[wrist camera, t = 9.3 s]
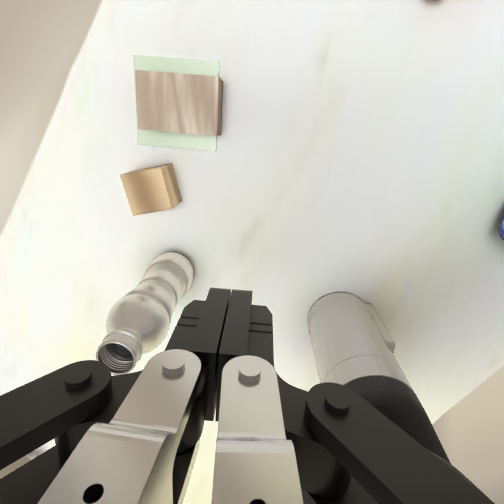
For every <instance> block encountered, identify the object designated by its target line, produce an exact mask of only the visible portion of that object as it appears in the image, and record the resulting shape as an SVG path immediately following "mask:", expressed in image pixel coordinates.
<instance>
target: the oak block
mask: <svg viewBox="0 0 504 504" xmlns="http://www.w3.org/2000/svg"><path fill="white" fill-rule="evenodd" d="M120 177H121V180H122V183H123V186H124V189H125V192H126V195H127V198H128V202H129V205H130V208H131V211H132V214H133V216H135V215H140V214H146V213H152V212H158V211H163V210H169V209H172V208H174V207H175V206H176V205H177V204H178V203H180V202H181V201H182V199H181V196H180V192H179V188H178V184H177V180H176V176H175V173H174V169H173V165H172V163H170V164H165V165H160V166H155V167H149V168H144V169H139V170H134V171H131V172H128V173H125V174H122V175H120Z"/></svg>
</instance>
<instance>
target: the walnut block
mask: <svg viewBox="0 0 504 504" xmlns="http://www.w3.org/2000/svg"><path fill="white" fill-rule="evenodd" d="M135 84H136V105H137V125H138V129H139V130H151V131H164V132H176V133H189V134H201V135H213V136H218V135H221V120H222V93H223V81H222V80H221V79H220V78H219V77H218V76H208V75H195V74H182V73H170V72H157V71H144V70H135Z"/></svg>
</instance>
